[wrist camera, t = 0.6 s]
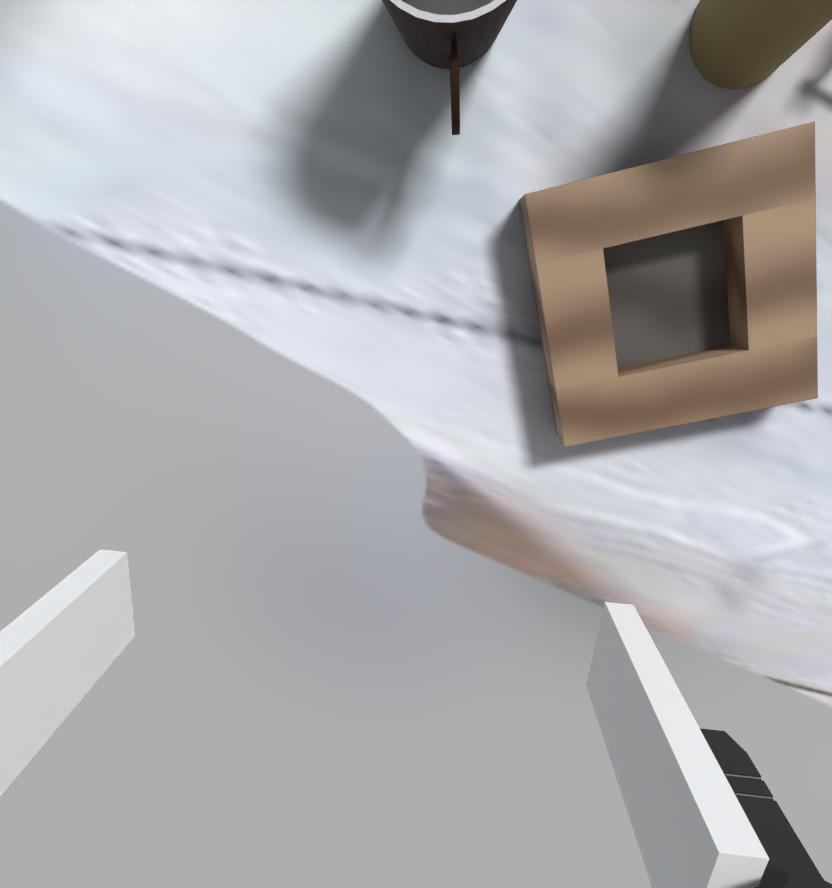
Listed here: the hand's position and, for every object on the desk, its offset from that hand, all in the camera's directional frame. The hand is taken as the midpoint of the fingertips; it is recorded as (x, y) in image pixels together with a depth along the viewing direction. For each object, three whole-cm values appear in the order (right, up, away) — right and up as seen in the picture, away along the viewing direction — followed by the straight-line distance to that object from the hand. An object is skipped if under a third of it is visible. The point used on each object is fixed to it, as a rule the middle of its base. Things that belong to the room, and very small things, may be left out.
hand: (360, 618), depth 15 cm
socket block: (+18, +15, +21) cm, 31 cm away
